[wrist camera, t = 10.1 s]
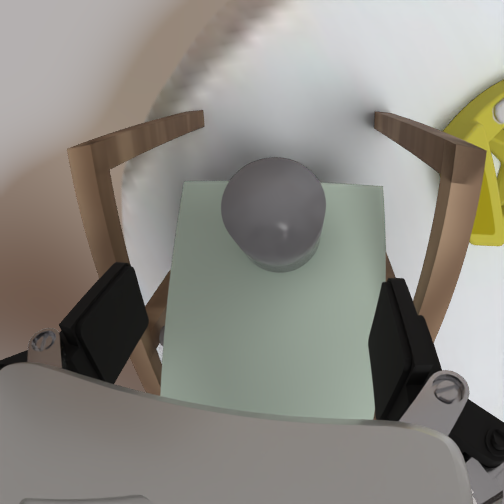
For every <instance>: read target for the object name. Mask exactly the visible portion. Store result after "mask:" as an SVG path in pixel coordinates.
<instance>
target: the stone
mask: <svg viewBox="0 0 504 504" xmlns="http://www.w3.org/2000/svg"><path fill="white" fill-rule="evenodd" d="M325 212H326V198H325V193H324V190H323V188H322V185H321V183H320V182H319V180H318V179H317V177H316V176H315V175H314V174H313V173H312V172H311V171H310V170H309V169H308V168H307V167H305V166H304V165H302V164H300V163H298V162H296V161H293V160H290V159H286V158H277V157H274V158H264V159H260V160H257V161H254V162H252V163H250V164H248V165H246V166H244V167H243V168H242V169H240V170H239V171H238V172H237V173H236V174H235V175H234V176H233V177H232V178H231V180H230V181H229V183H228V184H227V186H226V188H225V190H224V193H223V196H222V201H221V215H222V219H223V223H224V225H225V228H226V230H227V231H228V233H229V234H230V236H231V237H232V238H233V239H234V241H235V242H236V243H237V244H238V246H239V247H240V248H241V249H242V251H243V252H244V253H245V254H246V256H247V257H248V258H249V259H250V260H251V261H252V262H253V263H254V264H255V265H257V266H258V267H260V268H262V269H264V270H266V271H270V272H276V273H284V272H290V271H293V270H296V269H298V268H300V267H302V266H303V265H305V264H306V263H307V262H308V261H309V260H310V259H311V258H312V257H313V255H314V254H315V252H316V251H317V249H318V246H319V243H320V238H321V233H322V228H323V223H324V217H325Z"/></svg>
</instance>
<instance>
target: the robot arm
mask: <svg viewBox="0 0 504 504" xmlns="http://www.w3.org/2000/svg"><path fill="white" fill-rule="evenodd" d="M148 324H149V318H148V315H147V312H146V308H145V305H144V302H143V298H142V295H141V291H140V288H139V284H138V281H137V277H136V273H135V270H134V268H133V267H131V265H130V264H129V263H123V262H115V263H114V264H113V265H112V266H111V267H110V268H109V269H108V270H107V271H106V272H105V273H104V274H103V275H102V277H101V278H100V279H99V280H98V281H97V282H96V283H95V284H94V285H93V286H92V288H91V289H90V290H89V291H88V292H87V293H86V294H85V295H84V296H83V297H82V299H81V300H80V301H79V302H78V303H77V304H76V306H75V307H74V308H73V309H72V310H71V311H70V312H69V314H68V315H67V316H66V317H65V318H64V319H63V321H62V322H61V323H60V324H59V326H60V328H61V332H60V333H59V332H58V331H57V330H56V329H53V328H47V329H43V330H41V331H39V332H37V333H36V334H34V335H33V336H32V338H31V339H30V341H29V344H28V350H27V351H24V352H21V353H19V354H16V355H13V356H11V357H8V358H5V359H3V360H0V504H473V498H472V495H473V497H474V498H475V500H476V502H477V504H504V422H502V421H501V420H499V419H498V418H496V417H495V416H493V415H492V414H490V413H489V412H487V411H486V410H484V409H482V408H481V407H479V406H478V405H476V404H475V403H473V402H472V401H470V400H469V399H468V397H469V387H468V384H467V382H466V381H465V380H464V378H463V377H462V376H460V375H459V374H458V373H455V372H453V371H448V370H443V371H442V369H441V366H440V362H439V359H438V356H437V353H436V350H435V347H434V344H433V341H432V338H431V335H430V332H429V329H428V326H427V323H426V320H425V318H424V316H422V315H418V314H417V312H416V309H415V306H414V303H413V301H412V298H411V295H410V292H409V290H408V287H407V285H406V282H405V280H404V279H403V278H388V280H387V282H382V285H381V290H380V294H379V298H378V303H377V307H376V311H375V315H374V319H373V323H372V327H371V330H370V334H369V339H368V349H369V357H370V365H371V373H372V382H373V392H374V403H375V415H376V420H368V419H335V418H316V417H300V416H286V415H275V414H265V413H256V412H248V411H241V410H233V409H227V408H220V407H214V406H208V405H202V404H197V403H191V402H186V401H181V400H176V399H171V398H167V397H162V396H158V395H154V394H149V393H145V392H141V391H137V390H133V389H129V388H126V387H122V386H118V385H114V383H115V381H116V379H117V378H118V376H119V374H120V372H121V371H122V369H123V367H124V366H125V364H126V362H127V360H128V359H129V357H130V355H131V354H132V352H133V350H134V349H135V347H136V345H137V344H138V342H139V340H140V339H141V337H142V335H143V334H144V332H145V330H146V329H147V327H148ZM471 489H472V490H473V491H474V493H473V494H472V491H471Z"/></svg>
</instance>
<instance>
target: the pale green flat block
mask: <svg viewBox="0 0 504 504" xmlns="http://www.w3.org/2000/svg"><path fill="white" fill-rule="evenodd" d="M228 183H229V181H184V184H183V190H182V196H181V202H180V209H179V215H178V221H177V228H176V235H175V242H174V249H173V257H172V265H171V273H170V282H169V290H168V300H167V310H166V320H165V326H163V327H162V328H161V331H160V335H159V340H160V344H161V345H162V346H163V358H162V373H161V393H160V396H162V397H167V398H171V399H176V400H181V401H186V402H191V403H197V404H202V405H208V406H214V407H220V408H227V409H233V410H241V411H248V412H256V413H265V414H275V415H286V416H300V417H316V418H335V419H368V420H373V418H374V412H375V403H374V392H373V382H372V373H371V365H370V357H369V349H368V339H369V334H370V330H371V327H372V323H373V319H374V315H375V311H376V307H377V303H378V298H379V294H380V290H381V285H382V282H386V243H385V213H384V196H383V186H370V185H355V184H338V183H321V185H322V188H323V190H324V193H325V198H326V212H325V217H324V223H323V228H322V233H321V238H320V243H319V246H318V249H317V251H316V252H315V254H314V255H313V257H312V258H311V259H310V260H309V261H308V262H307V263H306V264H305V265H303V266H302V267H300V268H298V269H296V270H293V271H290V272H284V273H276V272H270V271H266V270H264V269H262V268H260V267H258V266H257V265H255V264H254V263H253V262H252V261H251V260H250V259H249V258H248V257H247V256H246V254H245V253H244V252H243V251H242V249H241V248H240V247H239V246H238V244H237V243H236V242H235V241H234V239H233V238H232V237H231V236H230V234H229V233H228V231H227V230H226V228H225V225H224V223H223V219H222V215H221V201H222V196H223V193H224V190H225V188H226V186H227V184H228Z"/></svg>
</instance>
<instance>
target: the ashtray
mask: <svg viewBox="0 0 504 504" xmlns="http://www.w3.org/2000/svg"><path fill="white" fill-rule="evenodd" d="M503 128H504V80H502V81H500V82H498V83H496V84H495V85H493V86H491V87H490V88H488V89H487V90H485V91H484V92H482V93H481V94H480V95H478V96H477V97H476V98H475V99H474V100H472V101H471V102H470V103H469V104H468V105H467V106H466V107H465V108H464V109H462V110H461V111H460V112H459V114H458V115H457V116H456V117H455V118H454V119H453V120H452V121H451V122H450V123H449V125H448V126H447V127H446V128H445V129H444V130H443V132H445V133H448V134H450V135H453V136H455V137H457V138H460V139H462V140H464V141H467V142H469V143H471V144H473V145H476V146H478V147H480V148H482V149H484V150H486V151H487V153H486V161H485V168H484V174H483V181H482V186H481V192H480V197H479V202H478V207H477V211H476V216H475V220H474V225H473V229H472V233H471V237H470V240H469V242H470V243H471V244H473V245H483V246H501V245H503V244H504V129H503ZM491 152H492V153H493V154H494V155H495V156H496V157H497V158H498V159H499V160H500V162H501V167H500V171H499V174H498V178H496V173H495V168H494V163H493V159H492V155H491ZM439 174H440V173H439ZM440 177H441V174H440Z"/></svg>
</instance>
